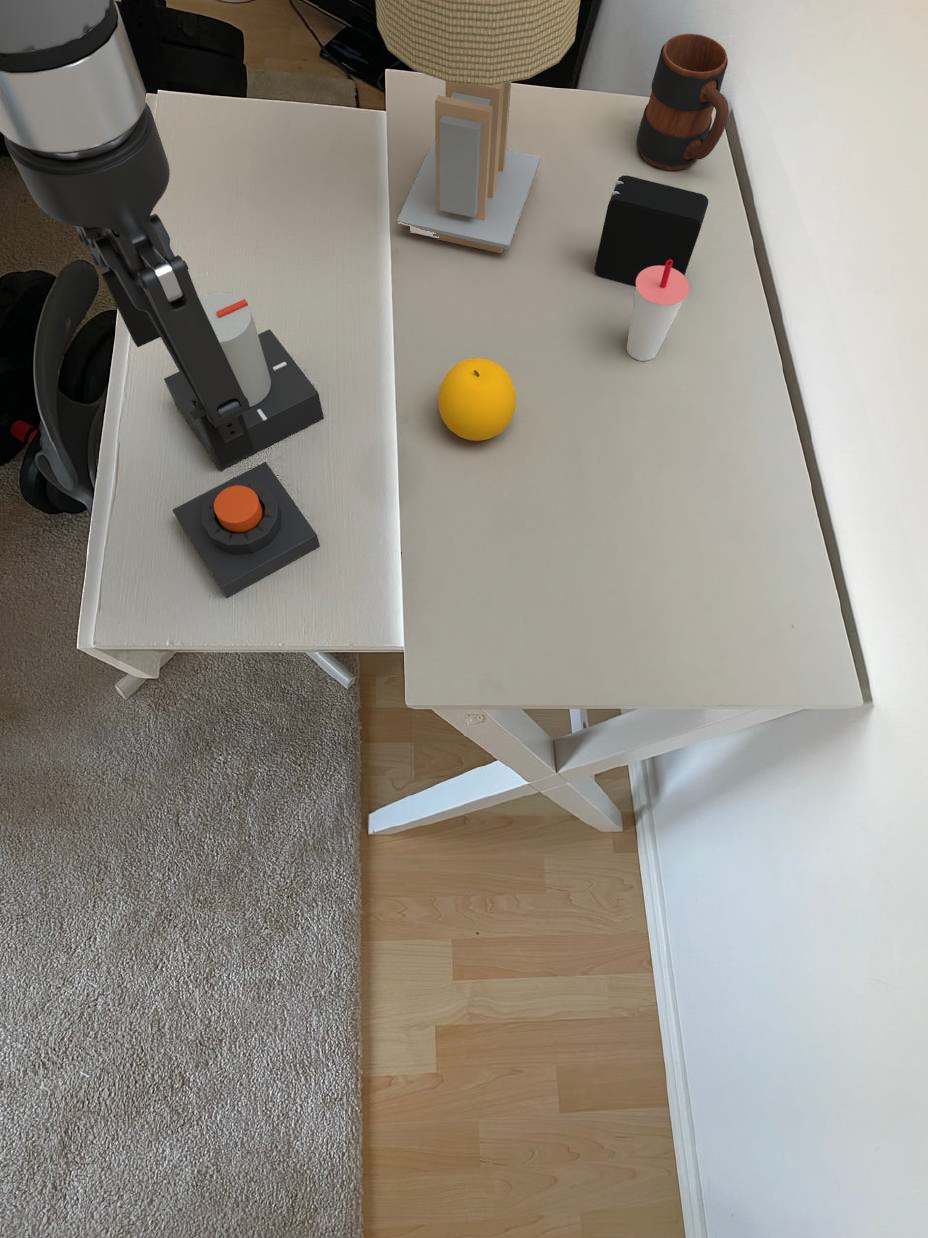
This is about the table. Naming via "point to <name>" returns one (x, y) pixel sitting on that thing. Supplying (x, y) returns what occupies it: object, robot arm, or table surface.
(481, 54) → the desk lamp
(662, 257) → the electronic device
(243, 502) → the power button
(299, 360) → the table surface
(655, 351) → the cup
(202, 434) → the dial panel
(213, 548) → the button base
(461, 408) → the yellow orange fruit
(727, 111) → the mug
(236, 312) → the timer dial
